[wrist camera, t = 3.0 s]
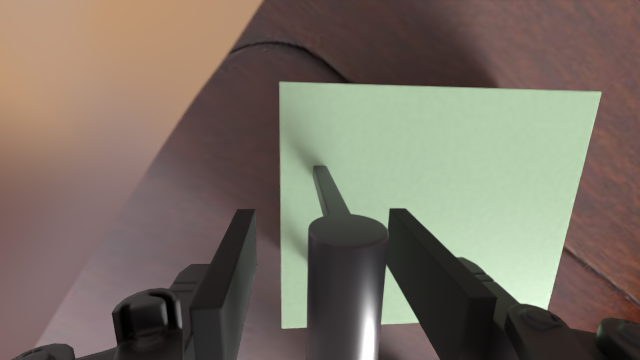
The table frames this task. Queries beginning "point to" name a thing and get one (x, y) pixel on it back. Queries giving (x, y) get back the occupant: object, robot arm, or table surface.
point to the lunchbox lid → (419, 195)
